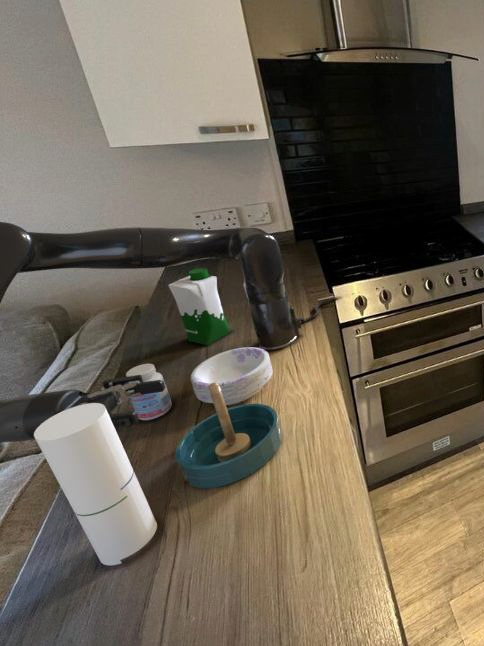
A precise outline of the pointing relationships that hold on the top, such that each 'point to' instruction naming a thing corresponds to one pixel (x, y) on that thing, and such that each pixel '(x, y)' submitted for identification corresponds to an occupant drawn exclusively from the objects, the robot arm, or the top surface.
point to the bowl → (205, 436)
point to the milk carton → (200, 307)
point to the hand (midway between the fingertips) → (150, 400)
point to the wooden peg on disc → (227, 429)
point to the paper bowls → (233, 374)
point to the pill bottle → (152, 402)
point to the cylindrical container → (97, 480)
